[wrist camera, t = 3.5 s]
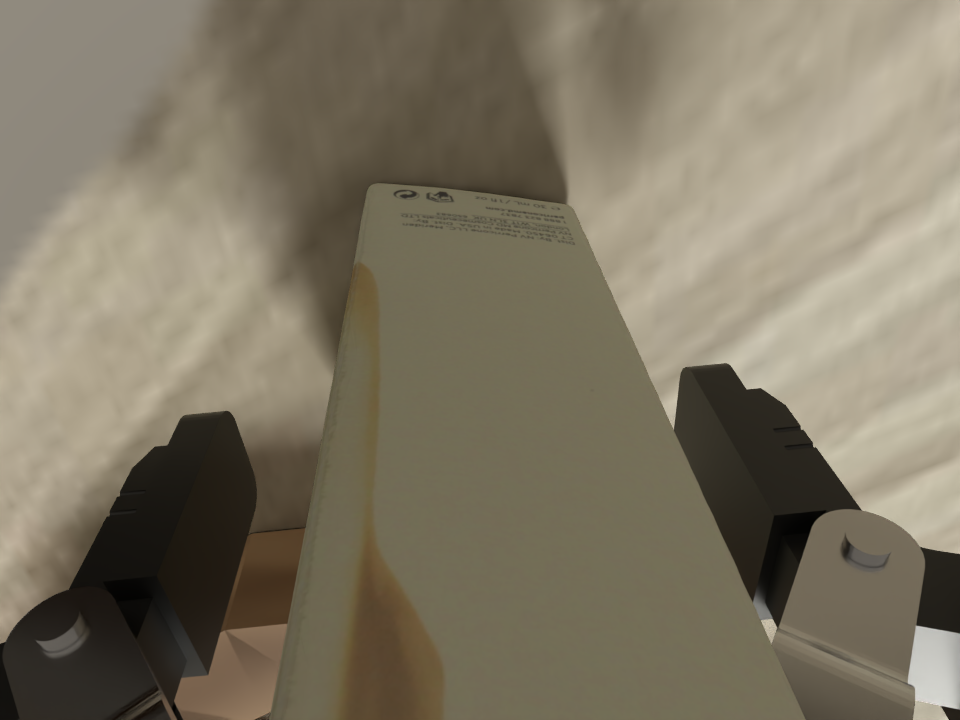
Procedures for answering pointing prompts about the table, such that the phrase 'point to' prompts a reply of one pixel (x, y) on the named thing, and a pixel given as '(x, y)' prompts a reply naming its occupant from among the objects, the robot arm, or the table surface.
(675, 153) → the table surface
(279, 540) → the walnut ring
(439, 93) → the table surface
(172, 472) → the robot arm
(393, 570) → the skincare box
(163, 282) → the table surface
